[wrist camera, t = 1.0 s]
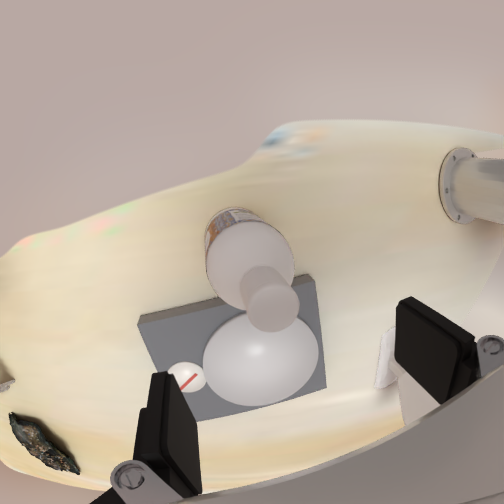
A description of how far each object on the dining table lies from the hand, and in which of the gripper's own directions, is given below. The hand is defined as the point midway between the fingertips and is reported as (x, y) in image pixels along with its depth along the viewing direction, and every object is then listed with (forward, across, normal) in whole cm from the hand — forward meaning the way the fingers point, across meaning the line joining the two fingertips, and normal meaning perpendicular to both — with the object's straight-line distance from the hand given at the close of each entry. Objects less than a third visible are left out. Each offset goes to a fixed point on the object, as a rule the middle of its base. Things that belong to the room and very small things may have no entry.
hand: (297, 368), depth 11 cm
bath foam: (+25, -1, 0) cm, 25 cm away
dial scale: (+25, +2, +16) cm, 30 cm away
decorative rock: (+26, +48, +32) cm, 64 cm away
